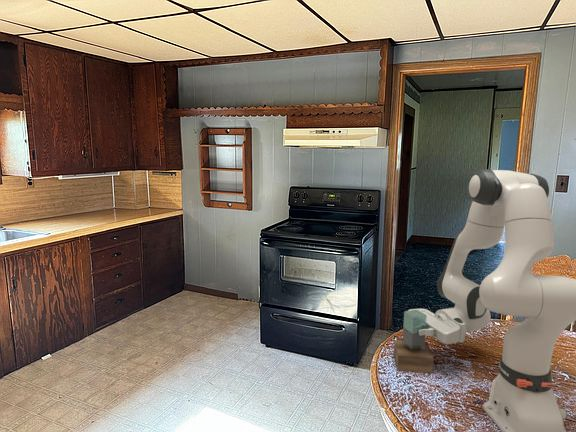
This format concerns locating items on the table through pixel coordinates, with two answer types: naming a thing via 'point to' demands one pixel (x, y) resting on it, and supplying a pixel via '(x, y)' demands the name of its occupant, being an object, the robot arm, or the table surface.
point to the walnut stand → (413, 358)
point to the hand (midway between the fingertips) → (412, 328)
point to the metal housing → (414, 329)
